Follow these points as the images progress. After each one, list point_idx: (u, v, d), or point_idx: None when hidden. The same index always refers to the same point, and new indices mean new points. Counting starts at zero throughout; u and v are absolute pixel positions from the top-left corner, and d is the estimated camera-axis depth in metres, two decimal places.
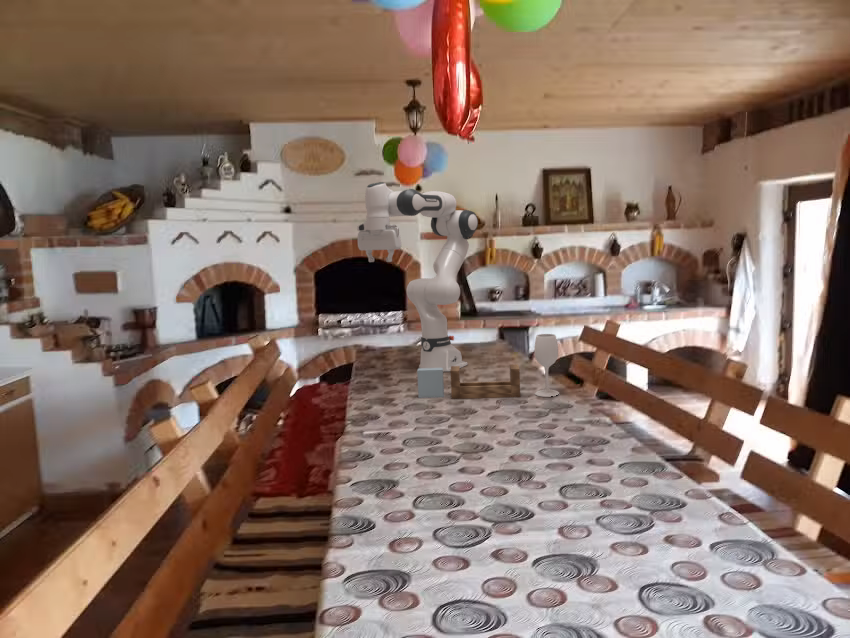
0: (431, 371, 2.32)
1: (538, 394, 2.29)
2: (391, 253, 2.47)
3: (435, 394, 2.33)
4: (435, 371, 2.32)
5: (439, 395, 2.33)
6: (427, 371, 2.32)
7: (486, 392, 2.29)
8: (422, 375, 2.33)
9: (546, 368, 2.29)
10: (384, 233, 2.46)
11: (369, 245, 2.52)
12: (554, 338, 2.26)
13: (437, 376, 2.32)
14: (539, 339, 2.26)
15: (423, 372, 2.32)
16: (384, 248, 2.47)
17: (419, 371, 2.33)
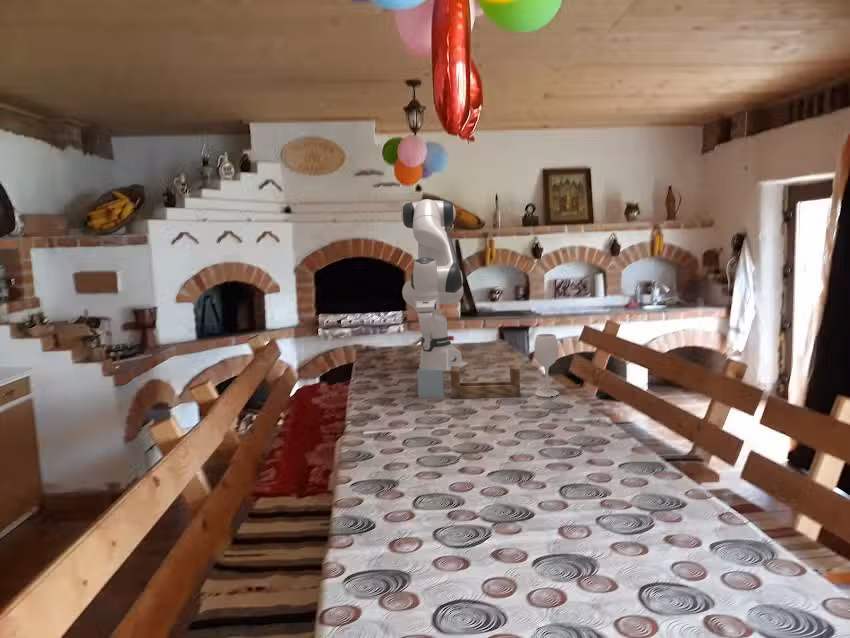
0: (431, 371, 2.32)
1: (538, 394, 2.29)
2: None
3: (435, 394, 2.33)
4: (435, 371, 2.32)
5: (439, 395, 2.33)
6: (427, 371, 2.32)
7: (486, 392, 2.29)
8: (422, 375, 2.33)
9: (546, 368, 2.29)
10: None
11: (432, 326, 2.28)
12: (554, 338, 2.26)
13: (437, 376, 2.32)
14: (539, 339, 2.26)
15: (423, 372, 2.32)
16: (433, 326, 2.36)
17: (419, 371, 2.33)
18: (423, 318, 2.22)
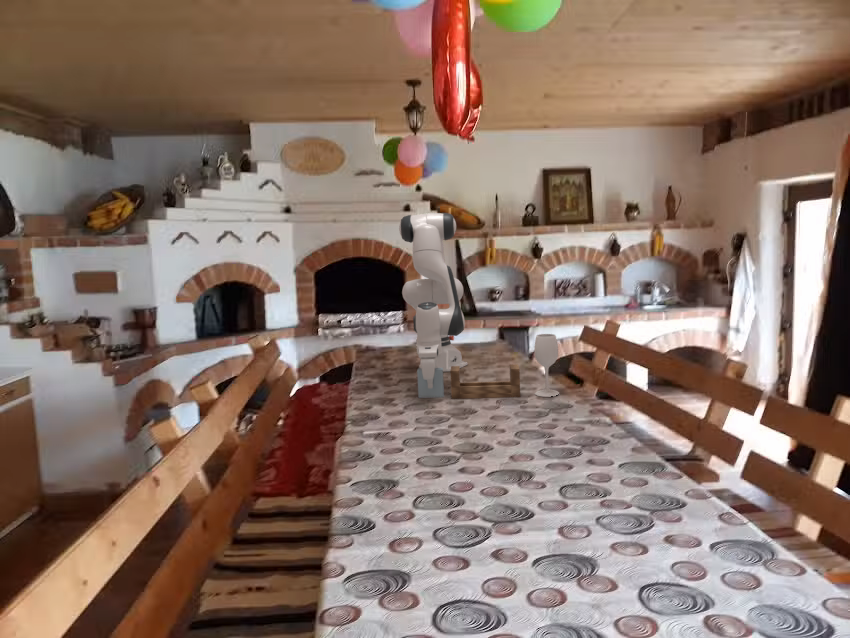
0: None
1: (538, 394, 2.29)
2: None
3: (435, 394, 2.33)
4: (435, 371, 2.32)
5: (439, 395, 2.33)
6: None
7: (486, 392, 2.29)
8: None
9: (546, 368, 2.29)
10: None
11: (434, 370, 2.30)
12: (554, 338, 2.26)
13: (437, 376, 2.32)
14: (539, 339, 2.26)
15: None
16: None
17: (419, 371, 2.33)
18: (425, 364, 2.24)
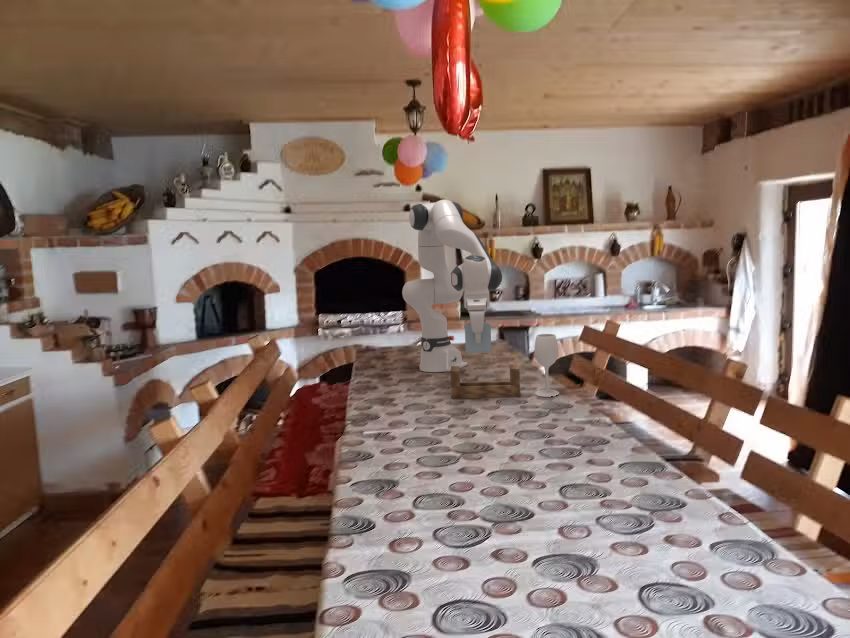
0: None
1: (538, 394, 2.29)
2: None
3: (482, 349, 2.29)
4: None
5: (487, 350, 2.29)
6: None
7: (486, 392, 2.29)
8: (470, 329, 2.28)
9: (546, 368, 2.29)
10: None
11: None
12: (554, 338, 2.26)
13: (485, 330, 2.28)
14: (539, 339, 2.26)
15: None
16: None
17: (466, 325, 2.28)
18: (475, 316, 2.20)
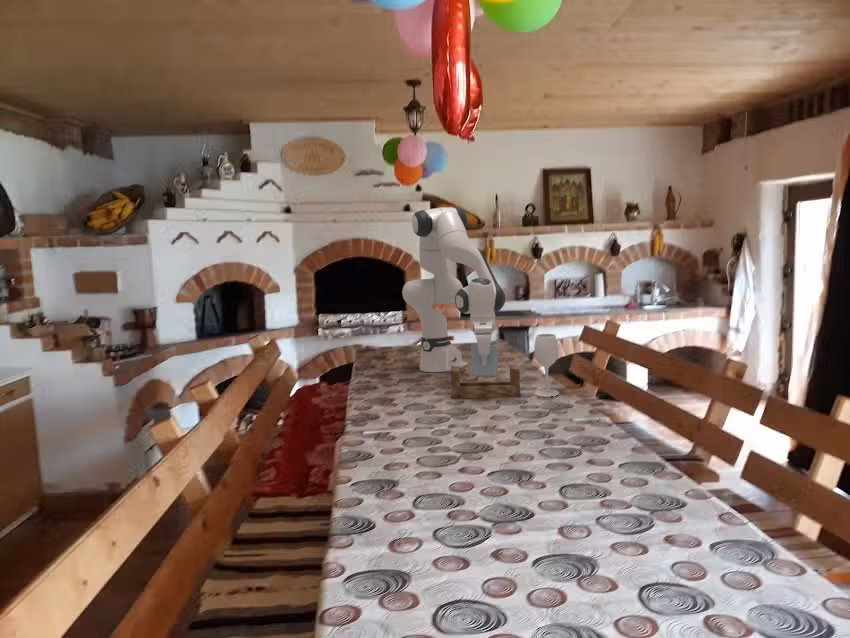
0: None
1: (538, 394, 2.29)
2: None
3: (489, 371, 2.30)
4: None
5: (493, 372, 2.30)
6: None
7: (486, 392, 2.29)
8: (476, 351, 2.29)
9: (546, 368, 2.29)
10: None
11: None
12: (554, 338, 2.26)
13: (491, 353, 2.29)
14: (539, 339, 2.26)
15: (477, 349, 2.29)
16: None
17: (473, 348, 2.29)
18: (481, 339, 2.21)
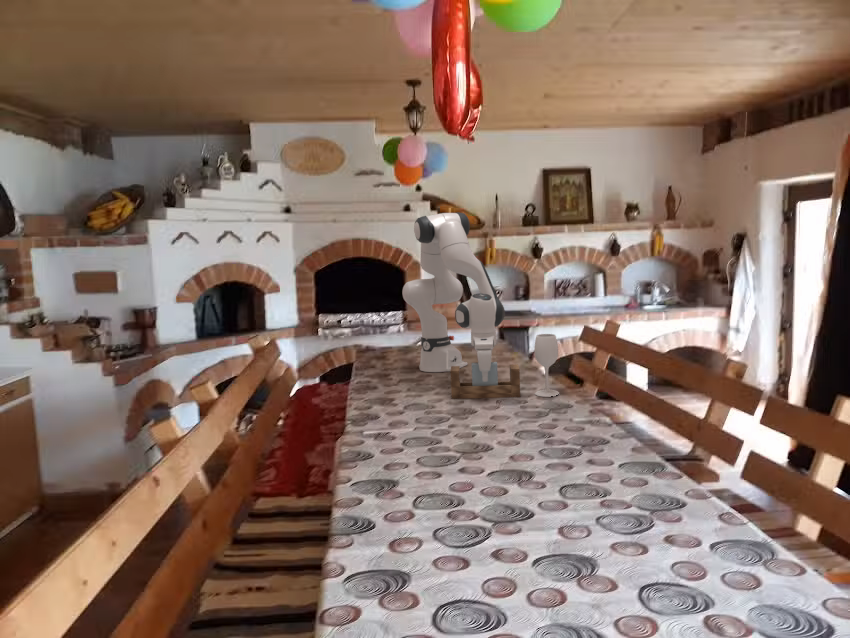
0: None
1: (538, 394, 2.29)
2: None
3: None
4: None
5: None
6: None
7: (486, 392, 2.29)
8: (477, 369, 2.30)
9: (546, 368, 2.29)
10: None
11: None
12: (554, 338, 2.26)
13: (492, 370, 2.30)
14: (539, 339, 2.26)
15: (478, 366, 2.30)
16: None
17: (473, 365, 2.30)
18: (482, 355, 2.22)
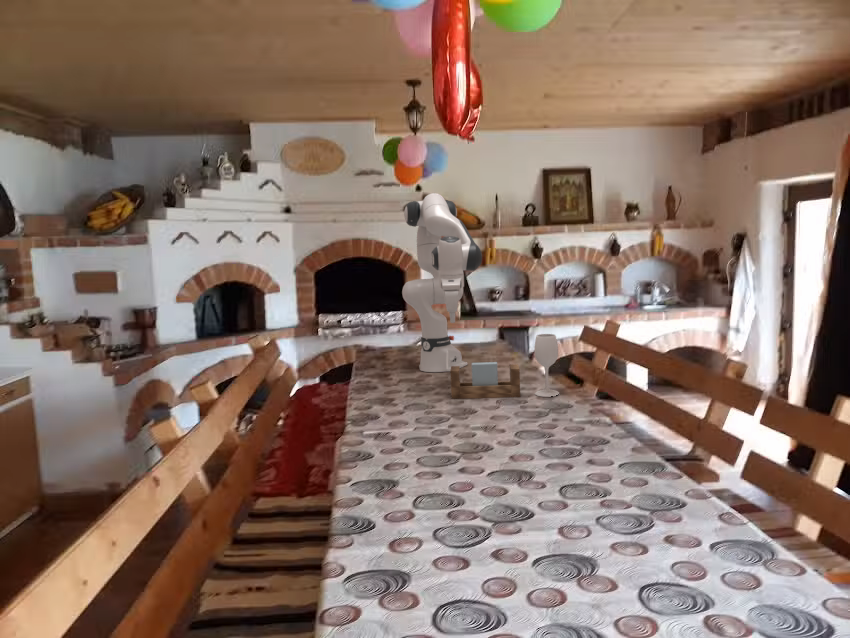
0: (486, 365, 2.30)
1: (538, 394, 2.29)
2: None
3: None
4: (490, 365, 2.30)
5: None
6: (482, 365, 2.30)
7: (486, 392, 2.29)
8: (477, 369, 2.30)
9: (546, 368, 2.29)
10: None
11: None
12: (554, 338, 2.26)
13: (492, 370, 2.30)
14: (539, 339, 2.26)
15: (478, 366, 2.30)
16: None
17: (473, 365, 2.30)
18: (449, 296, 2.26)
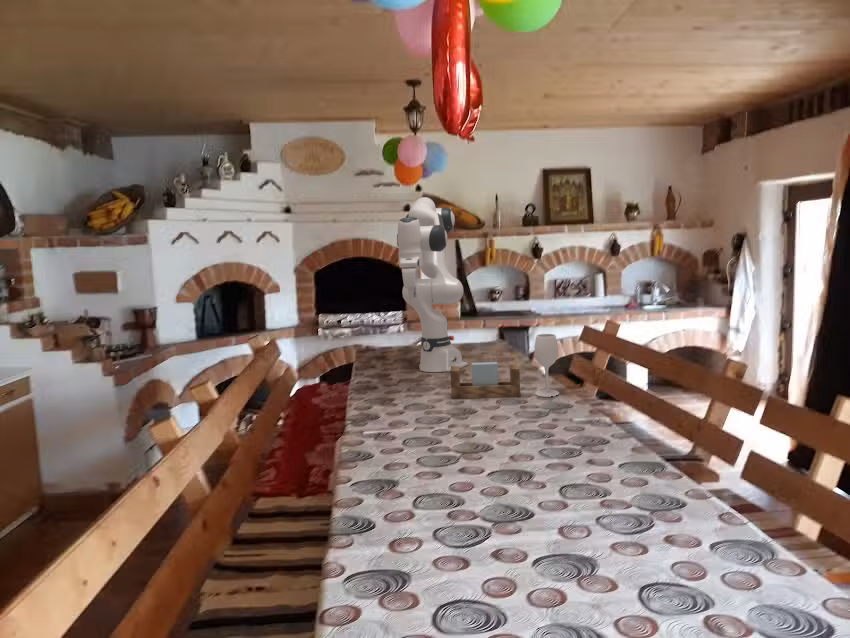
0: (486, 365, 2.30)
1: (538, 394, 2.29)
2: None
3: None
4: (490, 365, 2.30)
5: None
6: (482, 365, 2.30)
7: (486, 392, 2.29)
8: (477, 369, 2.30)
9: (546, 368, 2.29)
10: None
11: (415, 281, 2.40)
12: (554, 338, 2.26)
13: (492, 370, 2.30)
14: (539, 339, 2.26)
15: (478, 366, 2.30)
16: (417, 283, 2.48)
17: (473, 365, 2.30)
18: (406, 273, 2.34)
